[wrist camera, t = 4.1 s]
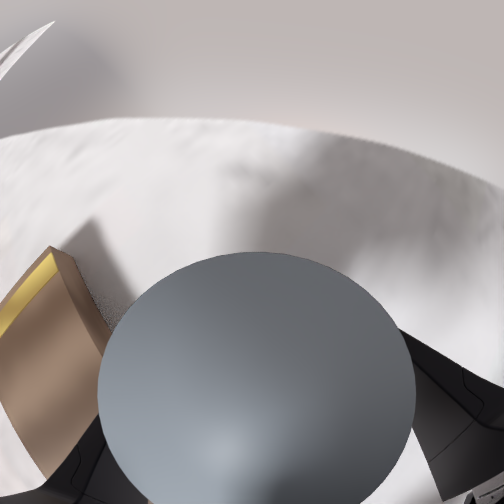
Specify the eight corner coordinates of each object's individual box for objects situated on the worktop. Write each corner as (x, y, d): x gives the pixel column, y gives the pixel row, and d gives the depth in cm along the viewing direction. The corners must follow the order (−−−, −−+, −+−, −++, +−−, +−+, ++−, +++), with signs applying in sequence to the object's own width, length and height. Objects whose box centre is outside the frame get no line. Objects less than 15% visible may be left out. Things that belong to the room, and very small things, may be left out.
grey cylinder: (318, 389, 15) (429, 491, 3) (224, 409, 15) (144, 541, 3) (298, 298, 17) (381, 210, 5) (203, 318, 17) (69, 278, 5)
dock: (249, 496, 13) (246, 521, 10) (132, 538, 11) (118, 555, 8) (72, 256, 18) (48, 244, 15) (-2, 339, 17) (-25, 337, 14)
